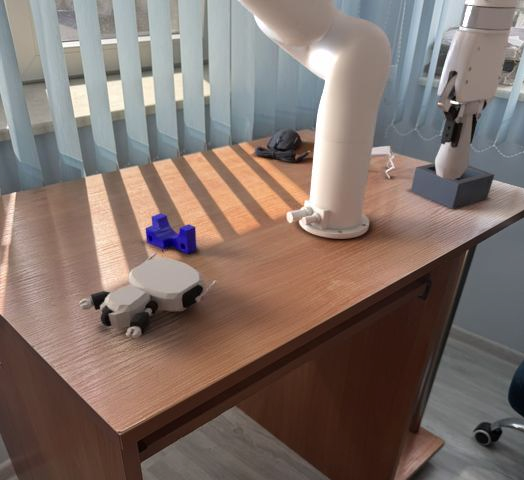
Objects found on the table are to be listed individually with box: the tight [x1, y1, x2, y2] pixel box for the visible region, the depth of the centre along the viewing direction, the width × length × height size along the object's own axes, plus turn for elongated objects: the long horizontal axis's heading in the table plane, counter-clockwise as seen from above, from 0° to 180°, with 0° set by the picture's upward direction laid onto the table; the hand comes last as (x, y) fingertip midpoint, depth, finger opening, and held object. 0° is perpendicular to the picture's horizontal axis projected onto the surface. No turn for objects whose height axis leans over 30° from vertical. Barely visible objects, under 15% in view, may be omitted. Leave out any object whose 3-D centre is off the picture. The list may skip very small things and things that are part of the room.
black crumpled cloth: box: [253, 128, 312, 163], centre depth 127 cm, size 12×18×4 cm
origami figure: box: [371, 145, 396, 179], centre depth 117 cm, size 12×8×5 cm
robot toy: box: [78, 251, 218, 339], centre depth 69 cm, size 12×4×15 cm
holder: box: [410, 162, 495, 210], centre depth 107 cm, size 11×11×5 cm
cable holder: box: [144, 212, 197, 255], centre depth 84 cm, size 8×4×4 cm, turn 51°
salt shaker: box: [434, 99, 479, 179], centre depth 90 cm, size 6×6×13 cm
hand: (456, 143), depth 91 cm, fingers closed on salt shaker, 3 cm apart
